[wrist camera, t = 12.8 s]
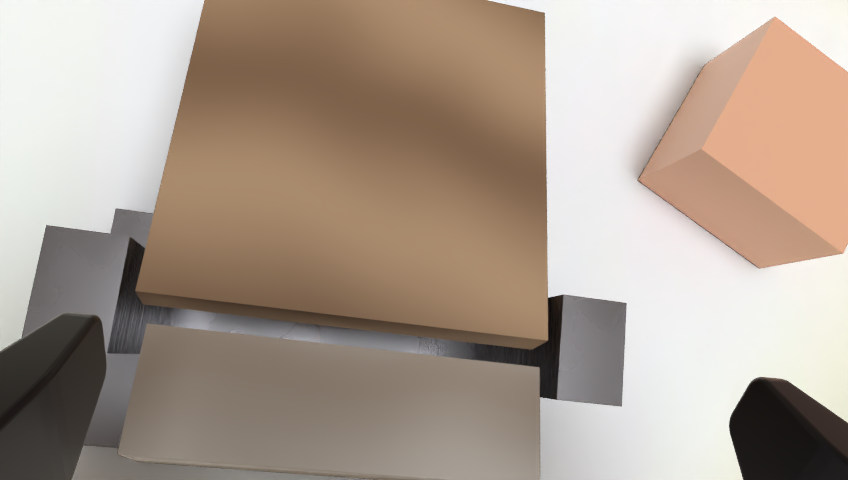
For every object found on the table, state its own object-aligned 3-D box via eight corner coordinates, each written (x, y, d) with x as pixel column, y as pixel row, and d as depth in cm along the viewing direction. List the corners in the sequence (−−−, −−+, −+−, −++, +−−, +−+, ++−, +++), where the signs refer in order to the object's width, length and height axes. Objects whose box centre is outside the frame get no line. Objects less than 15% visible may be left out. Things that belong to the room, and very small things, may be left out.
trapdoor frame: (517, 474, 23) (640, 536, 15) (78, 439, 20) (-49, 492, 12) (532, 272, 24) (652, 233, 16) (123, 214, 21) (33, 135, 14)
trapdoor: (521, 490, 16) (563, 488, 13) (113, 459, 14) (87, 451, 12) (523, 49, 20) (554, -5, 18) (221, -12, 19) (216, -80, 17)
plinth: (759, 268, 26) (843, 253, 22) (638, 180, 25) (701, 149, 22) (818, 150, 27) (906, 116, 24) (704, 64, 27) (775, 16, 23)
